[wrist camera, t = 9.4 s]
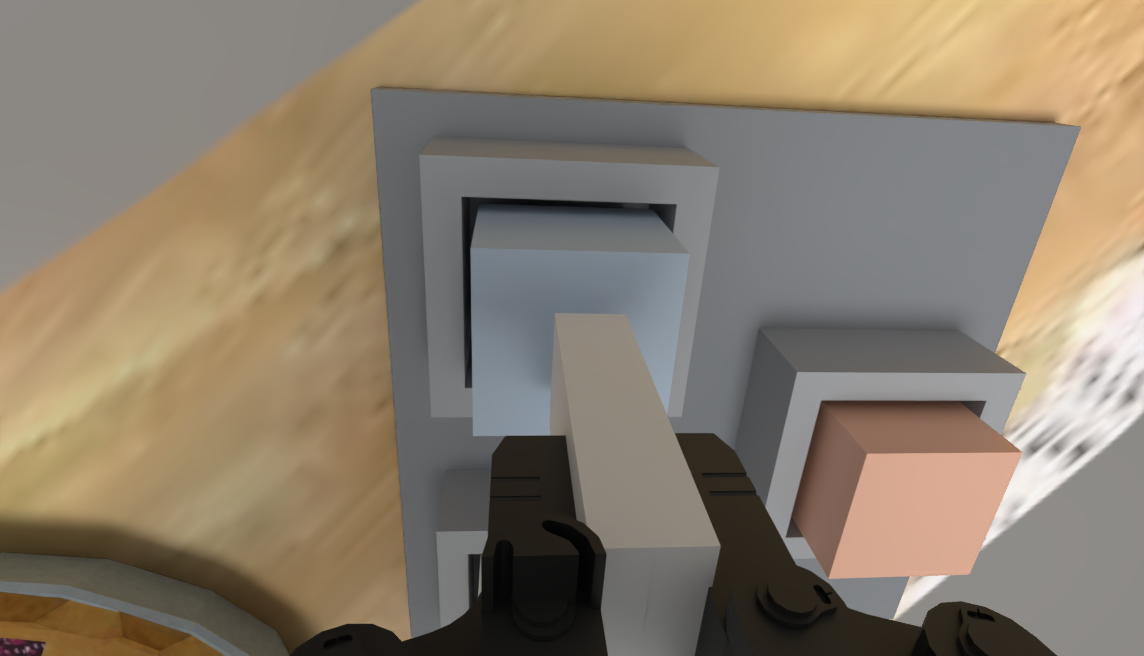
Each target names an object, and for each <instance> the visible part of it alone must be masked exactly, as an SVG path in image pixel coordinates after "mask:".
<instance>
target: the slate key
mask: <svg viewBox="0 0 1144 656" xmlns="http://www.w3.org/2000/svg"><path fill="white" fill-rule="evenodd" d="M689 258H690V253H689V252H688V251H687V250H686V248H685V247H684V246H683V245H682V244H681V243H680V241H679V240H678V239H677V238H676V237H675V235H674V234H673V233H672V232H671V231H670V230H669V228H668V227H667V226H666V225H665V224H664V222H663V221H662V220H661V219H660V218H659V217H658V215H657V214H656V213H655V212H654V211H653V209H625V208H596V207H567V206H537V205H508V204H479V207H478V212H477V217H476V223H475V228H474V233H473V238H472V243H471V321H472V401H473V436H537V435H550V426H549V420H550V400H551V379H552V359H553V339H554V318H555V313H581V314H626V316H627V318H628V321H629V323H630V325H631V328H632V330H633V333H634V335H635V338H636V340H637V343H638V345H639V347H640V350H641V352H642V355H643V357H644V360H645V362H646V365H647V367H648V369H649V372H650V374H651V377H652V379H653V382H654V384H655V387H656V389H657V391H658V394H659V396H660V399H661V401H662V404H663V406H664V409H665V411H666V414H667V413H668V406H669V399H670V392H671V385H672V378H673V371H674V364H675V357H676V349H677V342H678V335H679V328H680V321H681V314H682V307H683V300H684V293H685V286H686V279H687V272H688V265H689Z"/></svg>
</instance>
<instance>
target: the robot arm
mask: <svg viewBox="0 0 1144 656" xmlns="http://www.w3.org/2000/svg"><path fill="white" fill-rule="evenodd" d="M549 426H550V435H537V436H505V437H504V439H503V440H502V441H501V443H500V444H499V446H498V447H497V448H496V450H495V451H494V453H493V454H492V463H491V482H490V502H489V521H488V539H487V541H486V544H485V547H484V550H483V553H482V556H481V593H480V594H479V596H478V598H477V600H476V602H475V603H474V604H473V605H472V606H471V607H470V608H469V609H468V610H467V612H466V613H465V614H463V615H462V616H461V617H459V618H458V619H456V620H455V621H453V622H452V623H451V624H449V625H447V626H444V627H442V628H440V629H437V630H435V631H433V632H430V633H427V634H424V635H421V636H418V637H415V638H412V639H409V640H406V641H403V642H402V641H401V640H400V639H399V638H398V637H397V636H396V635H395V634H394V633H393V632H392V631H389V630H387V629H384V628H381V627H379V626H376V625H374V624H345V625H342V626H339V627H336V628H333V629H329V630H326V631H323V632H321V633H319V634H318V635H316V636H314V637H313V638H311V639H310V640H308V641H307V642H305V643H304V644H302V645H300V646H299V647H297V649H296V650H295V651H294V652H293V653H292V654H291V655H290V656H1057V655H1055V654H1054V653H1053V652H1052V651H1051V650H1050V649H1049V648H1048V647H1046V646H1045V645H1044V644H1043V643H1042V642H1041V641H1040V640H1038V639H1037V638H1036V637H1035V636H1034V635H1032V634H1031V633H1029V632H1028V631H1027V630H1025V629H1024V628H1023V627H1021V626H1020V625H1018V624H1017V623H1016V622H1014V621H1013V620H1011V619H1009V618H1007V617H1005V616H1003V615H1001V614H999V613H997V612H995V611H993V610H990V609H988V608H986V607H983V606H979V605H974V604H970V603H966V602H946V603H940V604H939V605H937V606H935V607H934V608H932V609H931V610H929V611H928V612H927V615H926V617H925V620H924V622H923V624H922V627H918V626H914V625H910V624H905V623H902V622H897V621H893V620H889V619H885V618H881V617H877V616H873V615H868V614H865V613H862V612H859V611H856V610H853V609H850V608H848V607H847V606H846V604H845V602H844V601H843V600H842V599H841V597H840V596H839V595H838V594H837V592H836V591H835V590H834V589H833V588H832V586H831V585H830V584H829V583H827V582H826V581H824V580H823V579H822V578H820V577H819V576H817V575H816V574H815V573H813V572H812V571H810V570H808V569H805V568H803V567H800V566H797V565H796V563H795V562H794V560H793V558H792V556H791V554H790V552H789V550H788V548H787V547H786V545H785V543H784V541H783V539H782V537H781V535H780V534H779V532H778V530H777V528H776V526H775V524H774V522H773V521H772V519H771V517H770V515H769V513H768V511H767V509H766V508H765V506H764V504H763V502H762V500H761V498H760V496H759V495H757V494H756V489H755V487H754V485H753V483H752V482H751V480H750V478H749V477H747V472H746V470H745V469H744V467H743V465H742V463H741V461H740V459H739V457H738V456H737V454H736V452H735V451H734V450H733V449H732V448H731V447H730V446H728V445H727V444H726V443H725V442H724V441H722V440H721V439H720V438H719V437H718V436H716V435H715V434H714V433H674V431H673V428H672V426H671V423H670V421H669V418H668V416H667V414H666V411H665V409H664V406H663V404H662V401H661V399H660V396H659V394H658V391H657V389H656V387H655V384H654V382H653V379H652V377H651V374H650V372H649V369H648V367H647V365H646V362H645V360H644V357H643V355H642V352H641V350H640V347H639V345H638V343H637V340H636V338H635V335H634V333H633V330H632V328H631V325H630V323H629V321H628V318H627V316H626V314H581V313H555V318H554V339H553V359H552V379H551V400H550V420H549Z"/></svg>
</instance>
